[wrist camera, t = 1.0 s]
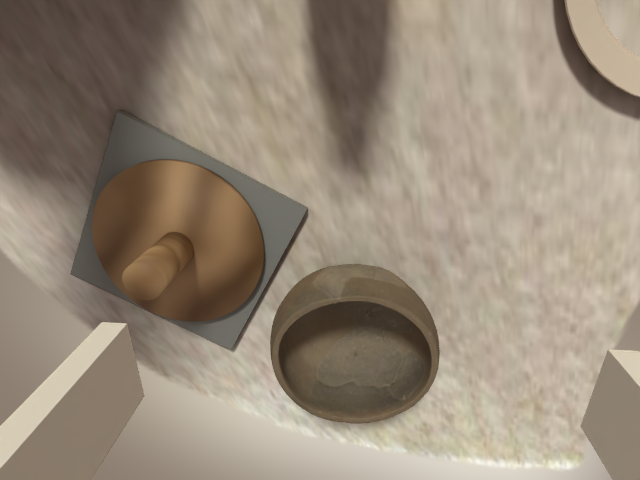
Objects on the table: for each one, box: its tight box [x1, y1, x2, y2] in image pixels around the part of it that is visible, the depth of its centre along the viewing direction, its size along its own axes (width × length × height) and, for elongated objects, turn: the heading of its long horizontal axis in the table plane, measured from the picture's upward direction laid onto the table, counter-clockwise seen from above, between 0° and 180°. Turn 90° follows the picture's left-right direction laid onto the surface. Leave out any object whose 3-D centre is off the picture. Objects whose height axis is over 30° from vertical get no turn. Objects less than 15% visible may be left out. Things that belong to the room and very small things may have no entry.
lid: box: [92, 159, 265, 322], centre depth 43 cm, size 20×20×9 cm
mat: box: [71, 110, 307, 350], centre depth 48 cm, size 22×22×1 cm
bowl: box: [270, 264, 439, 423], centre depth 45 cm, size 17×18×10 cm
